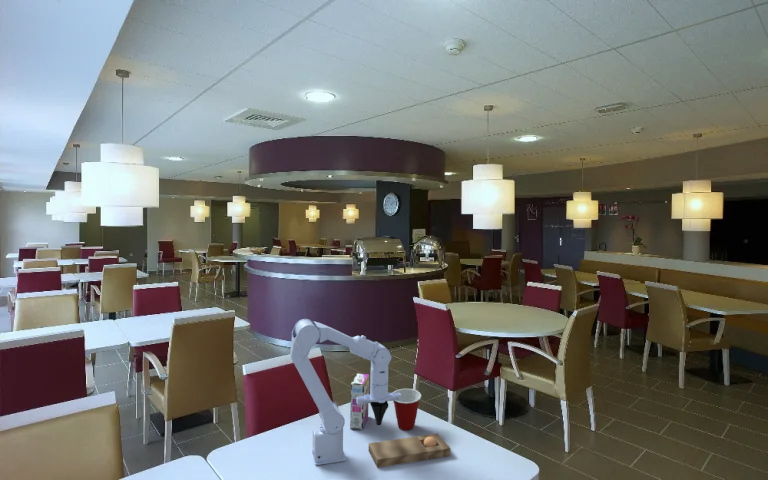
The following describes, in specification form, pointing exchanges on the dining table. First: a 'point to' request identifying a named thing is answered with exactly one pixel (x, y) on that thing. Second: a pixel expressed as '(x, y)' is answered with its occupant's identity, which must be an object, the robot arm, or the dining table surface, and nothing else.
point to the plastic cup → (407, 408)
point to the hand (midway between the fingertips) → (378, 423)
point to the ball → (429, 442)
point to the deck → (407, 450)
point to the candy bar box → (357, 411)
